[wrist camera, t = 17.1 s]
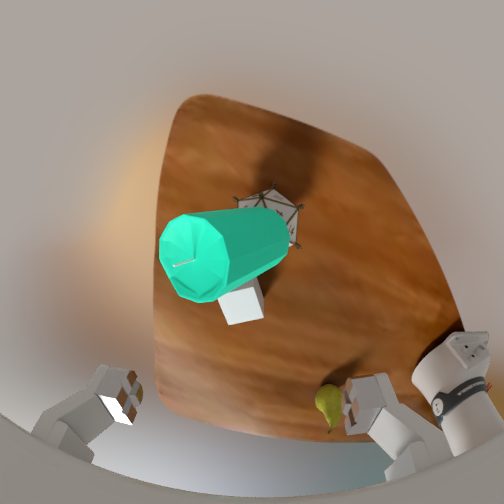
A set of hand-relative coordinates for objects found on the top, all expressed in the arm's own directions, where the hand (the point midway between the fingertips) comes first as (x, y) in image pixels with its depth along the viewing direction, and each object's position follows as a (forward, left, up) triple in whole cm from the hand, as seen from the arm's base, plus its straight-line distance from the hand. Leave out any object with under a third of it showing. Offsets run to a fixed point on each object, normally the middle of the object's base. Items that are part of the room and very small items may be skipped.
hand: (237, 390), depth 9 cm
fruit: (-14, +36, -28) cm, 48 cm away
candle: (-1, +1, -19) cm, 19 cm away
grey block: (+2, +12, -28) cm, 31 cm away
